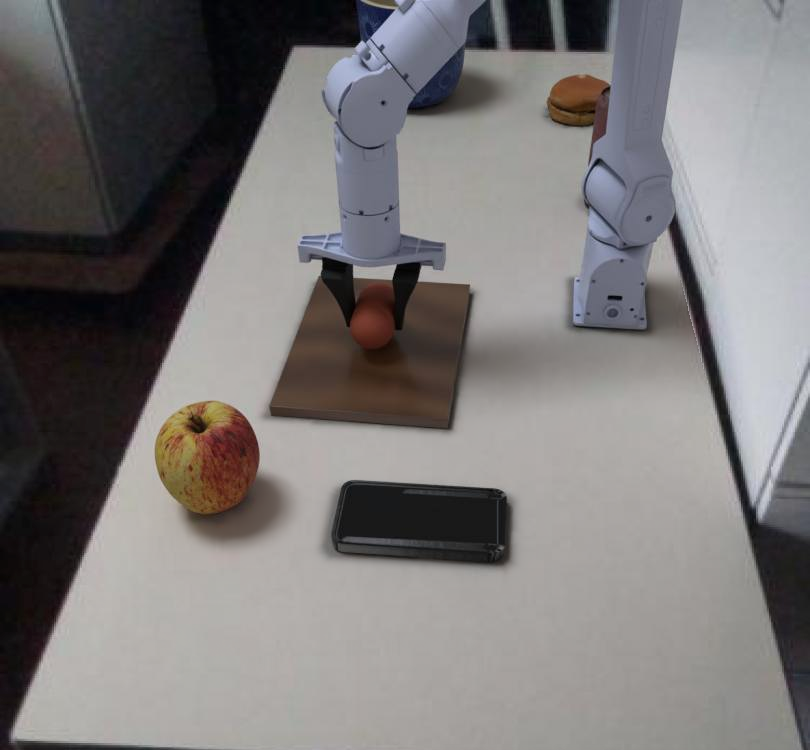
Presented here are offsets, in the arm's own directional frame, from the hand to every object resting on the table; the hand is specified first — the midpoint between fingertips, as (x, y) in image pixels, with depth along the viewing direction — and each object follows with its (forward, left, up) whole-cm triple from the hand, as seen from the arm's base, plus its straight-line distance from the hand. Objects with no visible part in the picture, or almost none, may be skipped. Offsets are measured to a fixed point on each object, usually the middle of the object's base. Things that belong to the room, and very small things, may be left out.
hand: (376, 323), depth 91 cm
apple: (-24, +11, -4) cm, 27 cm away
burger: (+63, -21, -4) cm, 67 cm away
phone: (-25, -8, -3) cm, 26 cm away
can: (+35, -25, -4) cm, 43 cm away
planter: (+67, +5, -4) cm, 67 cm away
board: (0, 0, -3) cm, 3 cm away
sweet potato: (0, 0, -1) cm, 1 cm away
